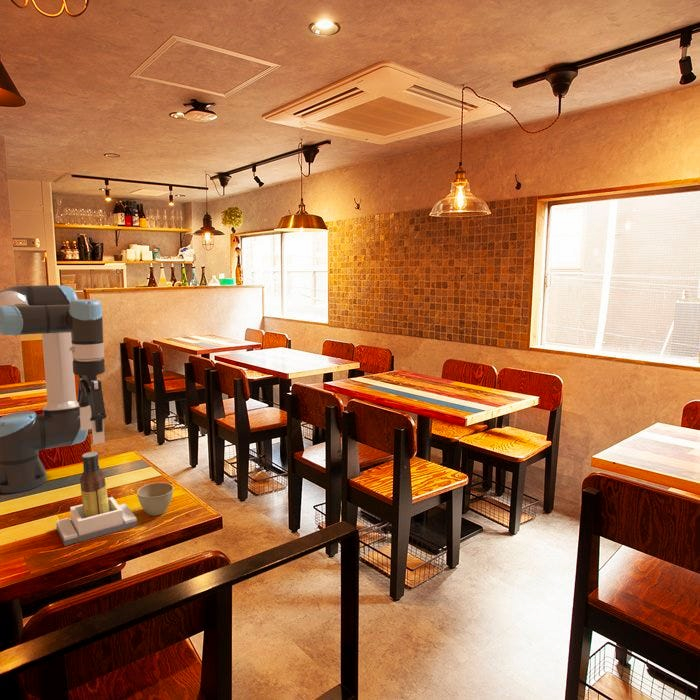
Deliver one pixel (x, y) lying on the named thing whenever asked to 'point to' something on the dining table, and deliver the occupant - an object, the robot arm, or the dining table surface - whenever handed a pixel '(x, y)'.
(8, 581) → the dining table surface
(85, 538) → the caddy
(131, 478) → the dining table surface
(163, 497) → the flower pot
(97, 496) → the sauce bottle
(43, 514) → the dining table surface
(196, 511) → the dining table surface
